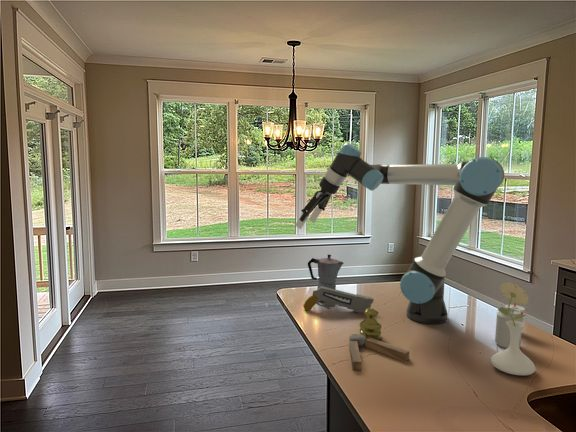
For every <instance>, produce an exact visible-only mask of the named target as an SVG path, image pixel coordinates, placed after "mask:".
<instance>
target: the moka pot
mask: <svg viewBox="0 0 576 432" xmlns="http://www.w3.org/2000/svg"><path fill="white" fill-rule="evenodd" d="M331 257H332V254H327V257H324V258H323V257H321V258H313V257H312V258H311V259H310V260H309V261H308V262H307V267H308V270H309V274H310V277H311V279H312V280H317V279H318V283H317V289H316V290H318V289H319V288H320V287H321V286H322V287H327V288H331V289H335V290H337V288H336V287H337V286H336V282H337V281H336V280H337V278H338V274H339V271H340V269H341V268H342V266H343V265H344V262H343V261H342V260H338V259H336V258H331ZM312 263H314V264H317V275H318V278H317V277H314V273H313V269H312ZM318 302H322V303H324V302H325V301H323V300H320V299H318Z"/></svg>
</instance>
